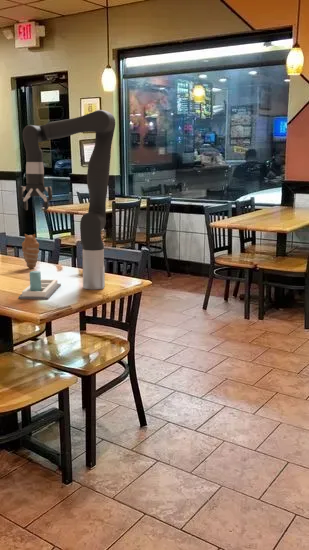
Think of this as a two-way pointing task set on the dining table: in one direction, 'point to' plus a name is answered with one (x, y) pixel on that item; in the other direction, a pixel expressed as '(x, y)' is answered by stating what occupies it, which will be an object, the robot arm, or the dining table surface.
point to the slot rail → (46, 290)
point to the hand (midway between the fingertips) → (36, 210)
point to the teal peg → (35, 281)
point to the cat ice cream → (30, 250)
